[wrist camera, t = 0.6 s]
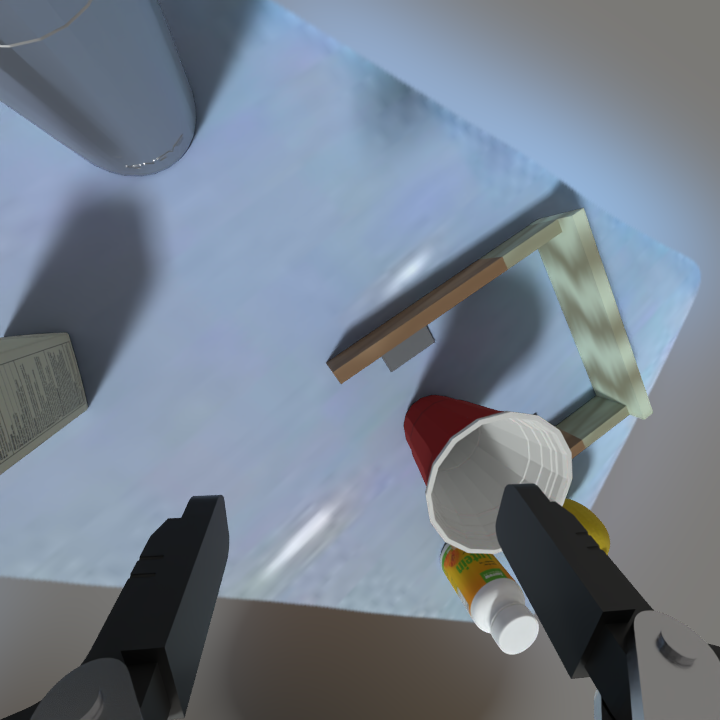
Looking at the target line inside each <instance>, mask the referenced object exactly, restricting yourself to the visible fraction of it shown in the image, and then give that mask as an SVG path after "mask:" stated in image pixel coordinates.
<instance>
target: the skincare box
mask: <svg viewBox="0 0 720 720" xmlns="http://www.w3.org/2000/svg"><path fill="white" fill-rule="evenodd" d="M87 408H88V406H87V402H86V397H85V392H84V388H83V384H82V380H81V376H80V373H79V369H78V365H77V361H76V358H75V354H74V351H73V348H72V344H71V341H70V338H69V335H68V333H47V334H31V335H19V336H10V337H2V338H0V475H1V474H2V473H3V472H5V471H6V470H7V469H9V468H10V467H11V466H13V465H14V464H15V463H17V462H18V461H19V460H21V459H22V458H23V457H25V456H26V455H27V454H29V453H30V452H31V451H33V450H34V449H35V448H37V447H38V446H39V445H41V444H42V443H43V442H45V441H46V440H47V439H48V438H50V437H51V436H52V435H54V434H55V433H56V432H58V431H59V430H60V429H62V428H63V427H65V426H66V425H67V424H68V423H70V422H71V421H72V420H74V419H75V418H76V417H78V416H79V415H80V414H82V413H83V412H85V411H86V410H87Z"/></svg>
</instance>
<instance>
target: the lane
mask: <svg viewBox="0 0 720 720" xmlns="http://www.w3.org/2000/svg"><path fill="white" fill-rule="evenodd" d="M537 249H538V250H539V253H540V255H541V258H542V260H543V263H544V265H545V268H546V270H547V273H548V275H549V278H550V280H551V283H552V285H553V288H554V291H555V293H556V296H557V298H558V301H559V303H560V306H561V308H562V311H563V313H564V316H565V318H566V321H567V323H568V326H569V328H570V331H571V333H572V336H573V338H574V341H575V343H576V346H577V348H578V351H579V353H580V356H581V358H582V361H583V364H584V366H585V369H586V371H587V374H588V376H589V379H590V381H591V384H592V386H593V389H594V391H595V394H596V396H595V397H594V398H592V399H591V400H590V401H589V402H587V403H586V404H585V405H583V406H582V407H581V408H579V409H578V410H577V411H575V412H574V413H573V414H571V415H570V416H569V417H567V418H566V419H565V420H563V421H562V422H561V423H559V424H558V425H557V426H555V427H556V428H557V429H559V430H560V431H561V433H562V435H563V437H564V439H565V441H566V443H567V445H568V447H569V449H570V451H571V453H572V459H573V458H574V457H575V456H577V455H578V454H579V453H580V452H582V451H583V450H584V449H586V448H587V447H588V446H590V445H591V444H592V443H593V442H595V441H596V440H597V439H599V438H600V437H601V436H603V435H604V434H605V433H606V432H608V431H609V430H610V429H612V428H613V427H614V426H615V425H617V424H618V423H619V422H621V421H622V420H623V419H625V418H626V417H627V416H628V415H632V416H635V417H638V418H641V419H643V420H645V419H646V418H647V417H649V416H650V415H651V414H652V413H653V411H652V408H651V405H650V402H649V399H648V396H647V393H646V390H645V387H644V384H643V382H642V379H641V376H640V373H639V370H638V367H637V364H636V361H635V358H634V355H633V352H632V349H631V346H630V343H629V340H628V337H627V334H626V331H625V329H624V326H623V323H622V320H621V317H620V314H619V311H618V308H617V305H616V302H615V299H614V296H613V293H612V290H611V287H610V284H609V281H608V278H607V276H606V273H605V270H604V267H603V264H602V261H601V258H600V255H599V252H598V249H597V246H596V243H595V240H594V237H593V234H592V231H591V228H590V225H589V223H588V220H587V217H586V214H585V211H584V208H581V209H577V210H573V211H569V212H565V213H561V214H557V215H553V216H548V217H544V218H540V219H538V220H536V221H535V222H533V223H532V224H530V225H529V226H527V227H526V228H524V229H523V230H521V231H520V232H518V233H517V234H516V235H514V236H513V237H511V238H510V239H508V240H507V241H505V242H504V243H502V244H501V245H499V246H498V247H496V248H495V249H493V250H492V251H490V252H489V253H487V254H486V255H485V256H483V257H482V258H480V259H479V260H477V261H476V262H474V263H473V264H471V265H470V266H468V267H467V268H465V269H464V270H462V271H461V272H459V273H458V274H456V275H455V276H453V277H452V278H451V279H449V280H448V281H446V282H445V283H443V284H442V285H440V286H439V287H437V288H436V289H434V290H433V291H431V292H430V293H428V294H427V295H425V296H424V297H422V298H421V299H420V300H418V301H417V302H415V303H414V304H412V305H411V306H409V307H408V308H406V309H405V310H403V311H402V312H400V313H399V314H397V315H396V316H394V317H393V318H391V319H390V320H388V321H387V322H386V323H384V324H383V325H381V326H380V327H378V328H377V329H375V330H374V331H372V332H371V333H369V334H368V335H366V336H365V337H363V338H362V339H360V340H359V341H357V342H356V343H355V344H353V345H352V346H350V347H349V348H347V349H346V350H344V351H343V352H341V353H340V354H338V355H337V356H335V357H334V358H332V359H331V360H329V361H328V362H326V364H327V365H328V366H329V368H330V369H331V371H332V372H333V374H334V375H335V377H336V378H337V379H338V381H339V382H340V383H341V384H342V383H343V382H345V381H346V380H348V379H349V378H351V377H352V376H354V375H355V374H357V373H358V372H359V371H361V370H362V369H364V368H365V367H367V366H368V365H370V364H371V363H373V362H374V361H375V360H377V359H378V358H380V357H381V356H383V355H384V354H386V353H387V352H389V351H390V350H391V349H393V348H394V347H396V346H397V345H399V344H400V343H402V342H403V341H405V340H406V339H407V338H409V337H410V336H412V335H413V334H415V333H416V332H418V331H419V330H421V329H422V328H423V327H425V326H426V325H428V324H429V323H431V322H432V321H434V320H435V319H437V318H438V317H439V316H441V315H442V314H444V313H445V312H447V311H448V310H450V309H451V308H453V307H454V306H455V305H457V304H458V303H460V302H461V301H463V300H464V299H466V298H467V297H469V296H470V295H471V294H473V293H474V292H476V291H477V290H479V289H480V288H482V287H483V286H485V285H486V284H487V283H489V282H490V281H492V280H493V279H495V278H496V277H498V276H499V275H501V274H502V273H503V272H505V271H506V270H508V269H509V268H511V267H512V266H514V265H515V264H517V263H518V262H519V261H521V260H522V259H524V258H525V257H527V256H528V255H530V254H531V253H533V252H534V251H535V250H537ZM450 546H451V547H452V549H453V550H455V549H456V548H457V547H455V546H452V545H450Z"/></svg>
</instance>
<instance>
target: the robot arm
mask: <svg viewBox="0 0 720 720" xmlns="http://www.w3.org/2000/svg"><path fill="white" fill-rule="evenodd" d="M0 101H1V102H2V103H4V104H5V105H7V106H8V107H10V108H11V109H13V110H14V111H15V112H17V113H18V114H20V115H21V116H23V117H24V118H26V119H27V120H29V121H30V122H31V123H33V124H34V125H36V126H37V127H39V128H40V129H42V130H43V131H45V132H46V133H47V134H49V135H50V136H51V137H53V138H54V139H56V140H57V141H59V142H60V143H62V144H63V145H65V146H66V147H68V148H69V149H71V150H72V151H74V152H75V153H77V154H78V155H79V156H81V157H83V158H84V159H86V160H87V161H89V162H90V163H92V164H93V165H95V166H97V167H100V168H102V169H104V170H107V171H109V172H113V173H117V174H121V175H125V176H144V175H150V174H156V173H158V172H160V171H163V170H165V169H167V168H169V167H170V166H172V165H173V164H174V163H176V162H177V161H178V160H179V159H180V158H181V157H182V156H183V154H184V153H185V152H186V150H187V149H188V147H189V145H190V143H191V140H192V138H193V135H194V130H195V125H196V106H195V102H194V97H193V93H192V89H191V87H190V84H189V82H188V79H187V76H186V74H185V71H184V69H183V66H182V63H181V61H180V58H179V55H178V52H177V50H176V47H175V44H174V42H173V39H172V37H171V34H170V31H169V29H168V26H167V24H166V21H165V18H164V16H163V13H162V11H161V8H160V6H159V3H158V0H0ZM495 528H496V536H497V540H498V543H499V545H500V547H501V549H502V551H503V553H504V555H505V556H506V558H507V560H508V562H509V564H510V566H511V568H512V570H513V571H514V573H515V575H516V577H517V579H518V581H519V583H520V584H521V586H522V588H523V590H524V592H525V594H526V596H527V597H528V599H529V601H530V603H531V605H532V607H533V609H534V610H535V612H536V614H537V616H538V618H539V620H540V622H541V624H542V625H543V627H544V629H545V631H546V633H547V635H548V637H549V638H550V640H551V642H552V644H553V646H554V648H555V649H556V651H557V653H558V655H559V657H560V659H561V661H562V662H563V665H564V666H565V668H566V670H567V672H568V674H569V676H570V677H571V679H575V678H584V677H591V679H592V681H593V683H594V684H595V686H596V688H597V690H596V693H595V697H594V720H720V647H719V646H715V645H711V644H707V643H706V642H705V641H704V640H703V639H702V638H701V637H700V636H699V635H698V634H697V633H696V632H695V631H693V630H692V629H691V628H689V627H688V626H687V625H685V624H684V623H682V622H681V621H679V620H677V619H675V618H673V617H671V616H669V615H667V614H664V613H661V612H657V611H654V610H653V609H652V608H651V607H650V606H649V604H648V603H647V602H646V601H645V600H644V599H643V597H642V596H641V595H640V594H639V593H638V591H637V590H636V589H635V588H634V587H633V585H632V584H631V583H630V582H629V581H628V579H627V578H626V577H625V576H624V575H623V573H622V572H621V571H620V570H619V569H618V567H617V566H616V565H615V564H614V563H613V561H611V559H610V558H609V557H608V555H607V554H606V553H605V552H604V551H603V550H601V549H600V546H599V545H598V543H597V542H596V541H595V540H594V539H593V537H592V536H591V535H588V531H587V530H586V529H585V528H584V527H583V526H582V524H581V523H580V522H579V521H578V520H577V518H576V517H575V516H574V515H573V514H572V513H570V512H569V511H568V510H566V509H565V508H564V507H562V506H561V505H560V504H558V503H557V502H556V501H552V502H550V500H549V499H548V498H547V497H546V495H545V494H544V493H543V492H542V490H541V489H540V488H539V487H538V486H537V485H536V484H533V483H526V484H508V485H506V487H505V489H504V492H503V496H502V500H501V504H500V508H499V512H498V515H497V519H496V525H495ZM228 551H229V531H228V524H227V517H226V509H225V502H224V497H223V496H222V495H210V496H193V497H191V499H190V500H189V502H188V504H187V507H186V509H185V511H184V513H183V515H182V517H181V518H170V519H167V520H166V521H165V522H164V523H163V524H162V525H161V526H160V527H159V528H158V529H157V530H156V531H155V532H154V533H153V534H152V535H151V536H150V538H149V540H148V542H147V544H146V546H145V548H144V550H143V551H142V553H141V555H140V559H139V561H137V563H136V565H135V567H134V569H133V570H132V572H131V576H130V579H128V580H127V582H126V584H125V586H124V588H123V589H122V591H121V593H120V595H119V597H118V599H117V601H116V603H115V605H114V607H113V609H112V610H111V613H110V614H109V616H108V618H107V620H106V622H105V624H104V626H103V627H102V630H101V631H100V633H99V635H98V637H97V639H96V641H95V643H94V645H93V646H92V649H91V650H90V652H89V654H88V655H87V657H86V659H85V660H84V661H83V663H82V664H81V665H80V666H79V667H78V668H76V669H74V670H73V671H71V672H70V673H69V674H67V675H66V676H65V677H63V678H62V679H61V680H60V681H59V682H58V683H57V684H56V685H55V686H54V687H53V688H52V689H51V690H50V691H49V692H48V693H47V694H46V696H45V697H44V698H43V699H42V700H41V701H40V702H38V703H36V704H34V705H33V706H31V707H29V708H26V709H24V710H22V711H20V712H17V713H15V714H13V715H10V716H8V717H6V718H3V719H1V720H173V719H181V718H185V714H186V710H187V707H188V703H189V699H190V695H191V692H192V688H193V685H194V681H195V677H196V673H197V670H198V666H199V662H200V659H201V655H202V651H203V648H204V643H205V640H206V636H207V633H208V629H209V625H210V621H211V618H212V614H213V611H214V607H215V603H216V599H217V596H218V592H219V588H220V585H221V581H222V577H223V573H224V570H225V566H226V562H227V558H228Z"/></svg>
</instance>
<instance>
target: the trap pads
mask: <svg viewBox="0 0 720 720" xmlns="http://www.w3.org/2000/svg"><path fill="white" fill-rule="evenodd" d="M434 342H435V341H434V340H433V338H432V336H431V334H430V332H429V330H428V329H427V327H426V326H425V327H423V328H422V329H421V330H419V331H418V332H416V333H415V334H413V335H412V336H410V337H409V338H407V339H406V340H405V341H403V342H402V343H400V344H399V345H397V346H396V347H394V348H393V349H391V350H390V351H389V352H387V353H386V354H384V355H383V356H381V357H382V358H383V360H384V361H385V363H386V365H387V366H388V368H389V370H390V371H391V372H393V371H394V370H395V369H397V368H398V367H400V366H401V365H403V364H404V363H405V362H407V361H408V360H410V359H411V358H413V357H414V356H416V355H417V354H418V353H420V352H421V351H423V350H424V349H426V348H427V347H428V346H430V345H431V344H433V343H434ZM534 415H536V414H534Z"/></svg>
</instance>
